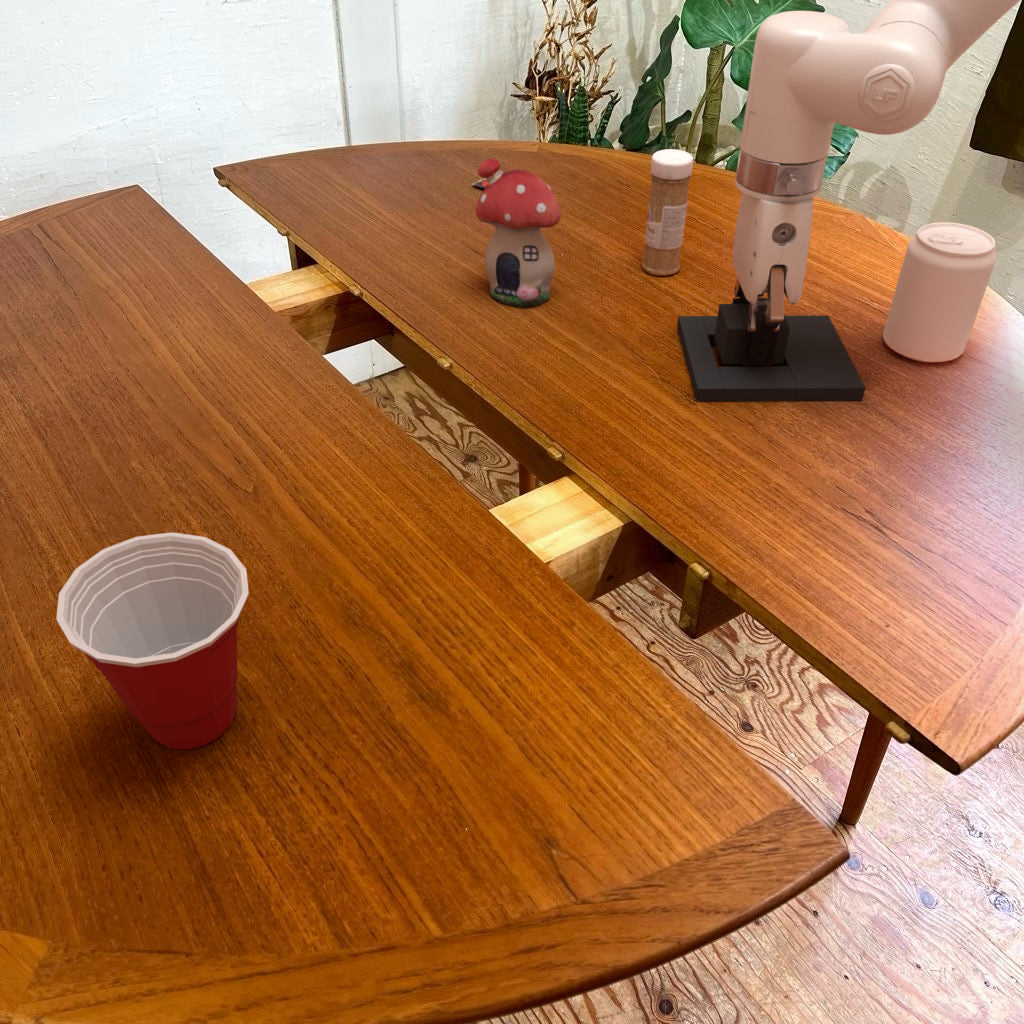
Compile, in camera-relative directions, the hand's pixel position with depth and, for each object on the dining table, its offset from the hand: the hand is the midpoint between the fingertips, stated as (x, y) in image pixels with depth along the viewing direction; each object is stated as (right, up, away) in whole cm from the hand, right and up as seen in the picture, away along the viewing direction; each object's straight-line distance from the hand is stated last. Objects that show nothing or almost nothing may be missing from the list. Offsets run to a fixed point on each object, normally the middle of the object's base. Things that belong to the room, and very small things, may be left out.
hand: (749, 347), depth 96 cm
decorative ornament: (-23, +8, +13) cm, 28 cm away
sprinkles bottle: (-6, +12, +17) cm, 22 cm away
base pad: (+2, -1, +1) cm, 3 cm away
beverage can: (+19, +1, +4) cm, 19 cm away
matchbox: (-26, +28, +36) cm, 53 cm away
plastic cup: (-45, -30, -32) cm, 63 cm away
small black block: (0, 0, 0) cm, 0 cm away
